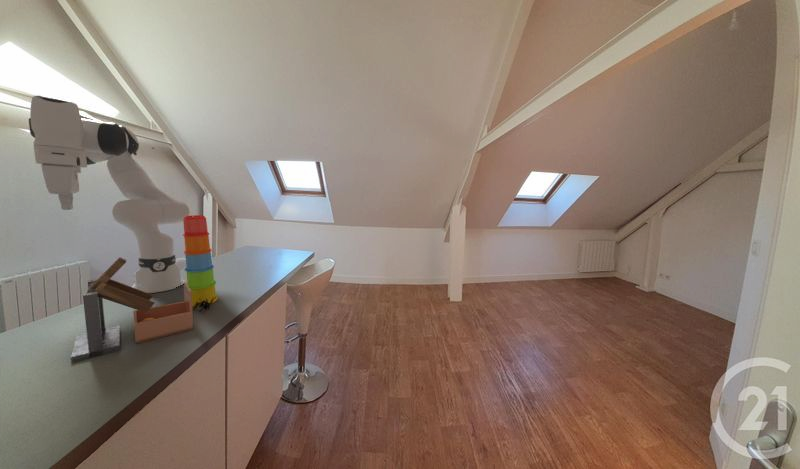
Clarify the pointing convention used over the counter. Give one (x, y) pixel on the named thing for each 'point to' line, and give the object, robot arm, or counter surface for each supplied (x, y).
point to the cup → (165, 319)
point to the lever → (120, 290)
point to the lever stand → (95, 331)
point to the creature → (206, 305)
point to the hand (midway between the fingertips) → (67, 209)
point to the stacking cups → (198, 259)
